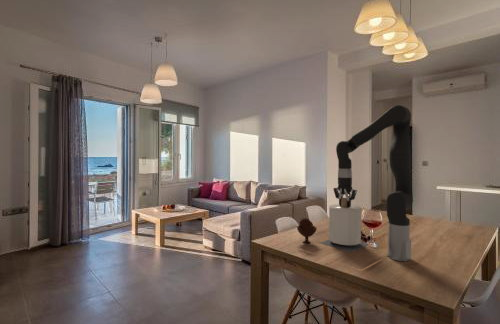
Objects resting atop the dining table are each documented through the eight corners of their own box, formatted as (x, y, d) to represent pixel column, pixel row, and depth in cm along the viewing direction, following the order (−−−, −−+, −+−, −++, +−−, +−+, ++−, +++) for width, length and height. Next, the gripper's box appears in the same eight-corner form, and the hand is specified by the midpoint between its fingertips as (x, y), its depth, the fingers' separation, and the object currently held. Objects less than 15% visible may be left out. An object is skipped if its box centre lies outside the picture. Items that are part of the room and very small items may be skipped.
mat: (370, 245, 155) (370, 244, 155) (351, 253, 142) (351, 252, 142) (339, 236, 170) (339, 236, 170) (319, 243, 158) (319, 242, 157)
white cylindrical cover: (367, 240, 155) (367, 198, 154) (350, 247, 144) (350, 202, 143) (340, 233, 168) (340, 195, 167) (323, 239, 157) (322, 198, 156)
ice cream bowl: (317, 247, 152) (317, 220, 151) (296, 246, 154) (296, 219, 154) (316, 241, 162) (316, 216, 162) (297, 240, 165) (297, 215, 164)
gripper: (360, 176, 152) (360, 207, 152) (337, 175, 163) (337, 204, 163) (352, 177, 147) (352, 209, 147) (330, 176, 158) (330, 205, 158)
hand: (344, 206), depth 155 cm, fingers closed on white cylindrical cover, 4 cm apart
